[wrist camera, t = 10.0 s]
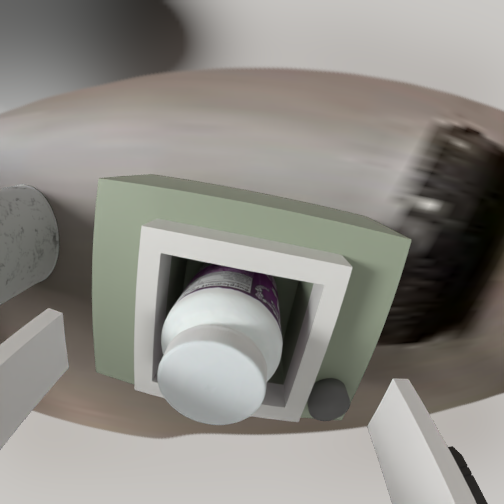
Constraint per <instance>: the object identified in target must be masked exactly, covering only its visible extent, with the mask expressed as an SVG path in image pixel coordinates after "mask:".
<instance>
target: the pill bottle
mask: <svg viewBox="0 0 504 504" xmlns="http://www.w3.org/2000/svg"><path fill="white" fill-rule="evenodd" d="M161 345H162V351H163V357H162V359H161V361H160V364H159V367H158V373H157V380H158V385H159V388H160V391H161V393H162V395H163V396H164V398H165V399H166V401H167V402H168V403H169V404H170V405H171V406H172V407H173V408H174V409H175V410H177V411H178V412H179V413H181V414H182V415H184V416H186V417H188V418H190V419H192V420H195V421H198V422H201V423H205V424H212V425H227V424H232V423H236V422H239V421H242V420H244V419H246V418H248V417H250V416H251V415H252V414H254V413H255V412H256V411H257V410H258V408H259V407H260V406H261V404H262V402H263V400H264V397H265V394H266V384H267V381H268V380H269V379H270V378H271V377H272V375H273V374H274V373H275V371H276V369H277V367H278V365H279V362H280V359H281V355H282V346H283V341H282V333H281V323H280V309H279V299H278V292H277V286H276V282H275V280H274V278H273V276H272V275H268V274H263V273H257V272H252V271H247V270H242V269H237V268H232V267H227V266H222V265H217V264H212V263H207V262H206V263H205V264H203V266H202V267H201V268H200V269H199V270H198V272H197V273H196V274H195V276H194V277H193V279H192V280H191V281H190V282H189V284H188V285H187V287H186V288H185V290H184V291H183V293H182V294H181V296H180V297H179V299H178V300H177V302H176V303H175V305H174V306H173V307H172V309H171V310H170V312H169V314H168V316H167V318H166V320H165V322H164V325H163V329H162V335H161Z"/></svg>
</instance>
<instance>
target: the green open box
mask: <svg viewBox="0 0 504 504" xmlns="http://www.w3.org/2000/svg"><path fill="white" fill-rule="evenodd" d="M410 244H411V239H409V238H407V237H405V236H403V235H401V234H400V233H398V232H396V231H394V230H392V229H390V228H388V227H386V226H384V225H382V224H380V223H378V222H376V221H374V220H371V219H369V218H367V217H365V216H362V215H358V214H353V213H349V212H345V211H341V210H337V209H332V208H328V207H324V206H319V205H315V204H310V203H306V202H301V201H297V200H292V199H287V198H282V197H278V196H273V195H268V194H263V193H258V192H252V191H247V190H242V189H237V188H231V187H226V186H220V185H215V184H209V183H203V182H197V181H191V180H185V179H179V178H172V177H166V176H159V175H153V174H149V175H134V176H120V177H108V178H99V181H98V189H97V198H96V209H95V221H94V235H93V256H92V319H93V339H94V354H95V365H96V372H98V373H100V374H103V375H106V376H109V377H112V378H115V379H118V380H121V381H125V382H128V383H131V384H134V385H135V390H137V391H140V392H144V393H147V394H151V395H154V396H158V397H162V398H164V396H163V395H162V393H161V391H160V388H159V385H158V380H157V373H158V367H159V364H160V361H161V359H162V357H163V351H162V345H161V335H162V329H163V325H164V322H165V320H166V318H167V316H168V314H169V312H170V310H171V309H172V307H173V306H174V305H175V303H176V302H177V300H178V299H179V297H180V296H181V294H182V293H183V291H184V290H185V288H186V287H187V285H188V284H189V282H190V281H191V280H192V279H193V277H194V276H195V274H196V273H197V272H198V270H199V269H200V268H201V267H202V266H203V264H205V263H206V262H207V263H212V264H217V265H222V266H227V267H232V268H237V269H242V270H247V271H252V272H257V273H263V274H268V275H272V276H273V278H274V280H275V282H276V286H277V292H278V299H279V309H280V323H281V333H282V341H283V346H282V355H281V359H280V362H279V365H278V367H277V369H276V371H275V373H274V374H273V375H272V377H271V378H270V379H269V380H268V381H267V384H266V394H265V397H264V400H263V402H262V404H261V406H260V407H259V408H258V410H257V411H256V412H255V413H254V414H252V415H251V416H253V417H260V418H267V419H275V420H283V421H292V422H299V419H300V417H302V418H313V419H317V420H320V421H330V420H342V419H343V417H344V415H345V413H346V412H347V410H348V409H349V407H350V403H351V401H352V399H353V396H354V394H355V392H356V390H357V388H358V386H359V384H360V381H361V379H362V377H363V375H364V373H365V370H366V368H367V366H368V363H369V361H370V359H371V356H372V354H373V352H374V349H375V347H376V344H377V342H378V339H379V337H380V334H381V332H382V329H383V326H384V324H385V321H386V318H387V316H388V313H389V310H390V307H391V304H392V302H393V299H394V296H395V293H396V290H397V287H398V284H399V281H400V277H401V274H402V271H403V268H404V265H405V261H406V258H407V254H408V251H409V247H410Z"/></svg>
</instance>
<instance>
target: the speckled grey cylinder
mask: <svg viewBox="0 0 504 504" xmlns="http://www.w3.org/2000/svg"><path fill="white" fill-rule="evenodd" d="M58 254H59V231H58V226H57V221H56V218H55V216H54V213H53V210H52V208H51V206H50V205H49V203H48V201H47V200H46V198H45V197H44V196H43V195H42V194H41V193H40V192H39V191H38V190H36V189H35V188H34V187H31V186H28V185H16V186H13V187H7V188H1V189H0V305H1V304H3V303H5V302H6V301H8V300H9V299H11V298H13V297H14V296H16V295H18V294H19V293H21V292H23V291H24V290H26V289H28V288H29V287H31V286H33V285H35V284H36V283H39V282H41V281H43V280H45V279H46V278H47V277H48V276H49V275H50V274H51V273H52V271H53V269H54V267H55V265H56V262H57V258H58Z"/></svg>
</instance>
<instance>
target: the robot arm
mask: <svg viewBox="0 0 504 504" xmlns="http://www.w3.org/2000/svg"><path fill="white" fill-rule="evenodd" d="M68 368H69V364H68V357H67V349H66V341H65V332H64V321H63V313H61V312H59V311H56V310H53V309H50V308H48V309H46V310H45V311H44V312H42V313H41V314H39V315H38V316H37V317H35V318H34V319H33V320H31V321H30V322H29V323H27V324H26V325H25V326H23V327H22V328H21V329H20V330H18V331H17V332H16V333H14V334H13V335H12V336H10V337H9V338H8V339H7V340H5V341H4V342H3V343H2V344H0V450H1V448H2V447H3V446H4V445H5V443H6V442H7V441H8V440H9V438H10V437H11V436H12V435H13V433H14V432H15V431H16V430H17V428H18V427H19V426H20V425H21V423H22V422H23V421H24V419H26V417H27V416H28V415H29V414H30V412H31V411H32V410H33V409H34V408H35V406H36V405H37V404H38V403H39V402H40V400H41V399H42V398H43V397H44V396H45V395H46V393H47V392H48V391H49V390H50V389H51V388H52V386H53V385H54V384H55V383H56V382H57V381H58V380H59V378H60V377H61V376H62V375H63V374H64V373H65V372H66V370H67V369H68ZM367 428H368V431H369V433H370V436H371V439H372V442H373V445H374V448H375V451H376V454H377V457H378V460H379V463H380V466H381V470H382V473H383V476H384V479H385V482H386V485H387V489H388V492H389V495H390V498H391V502H392V504H487V502H486V500H485V498H484V496H483V494H482V492H481V490H480V488H479V486H478V484H477V482H476V480H475V479H474V477H473V476H472V475H471V471H470V469H469V468H468V467H467V464H466V462H465V460H464V458H463V456H462V455H461V454H460V453H459V452H458V451H457V450H456V449H455V448H454V447H447V445H446V443H445V441H444V439H443V437H442V436H441V434H440V432H439V430H438V428H437V427H436V425H435V423H434V421H433V420H432V418H431V416H430V414H429V413H428V411H427V409H426V408H425V406H424V404H423V402H422V401H421V399H420V397H419V396H418V394H417V392H416V391H415V389H414V387H413V386H412V384H411V382H410V381H409V379H397V378H393V379H392V381H391V383H390V385H389V387H388V389H387V391H386V393H385V395H384V397H383V399H382V401H381V403H380V405H379V406H378V408H377V410H376V412H375V414H374V415H373V417H372V419H371V421H370V422H369V424H368V426H367Z"/></svg>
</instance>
